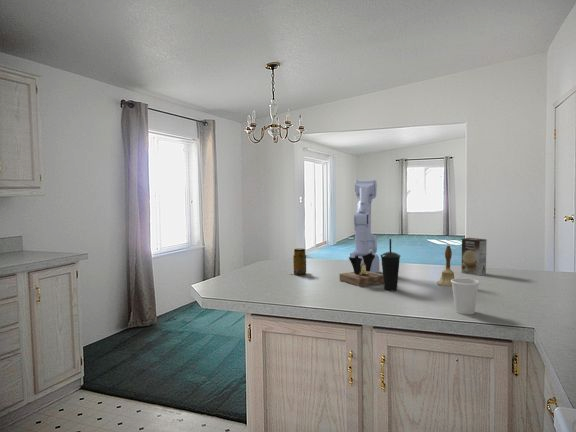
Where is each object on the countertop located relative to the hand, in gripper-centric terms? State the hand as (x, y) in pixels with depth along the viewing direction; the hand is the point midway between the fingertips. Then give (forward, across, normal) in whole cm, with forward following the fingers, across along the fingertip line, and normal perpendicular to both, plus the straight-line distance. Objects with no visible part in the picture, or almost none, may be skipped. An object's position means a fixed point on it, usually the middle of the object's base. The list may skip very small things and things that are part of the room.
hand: (362, 272), depth 184 cm
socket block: (+4, 0, 0) cm, 4 cm away
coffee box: (+4, -48, +28) cm, 56 cm away
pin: (+3, 0, 0) cm, 3 cm away
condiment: (+4, +5, -32) cm, 32 cm away
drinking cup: (+4, +5, +17) cm, 18 cm away
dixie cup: (+4, +17, +51) cm, 54 cm away
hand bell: (+4, -18, +30) cm, 35 cm away
